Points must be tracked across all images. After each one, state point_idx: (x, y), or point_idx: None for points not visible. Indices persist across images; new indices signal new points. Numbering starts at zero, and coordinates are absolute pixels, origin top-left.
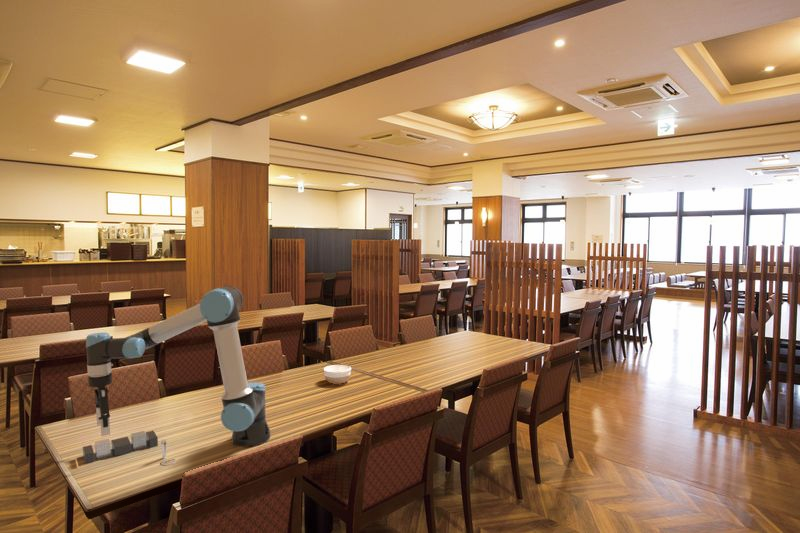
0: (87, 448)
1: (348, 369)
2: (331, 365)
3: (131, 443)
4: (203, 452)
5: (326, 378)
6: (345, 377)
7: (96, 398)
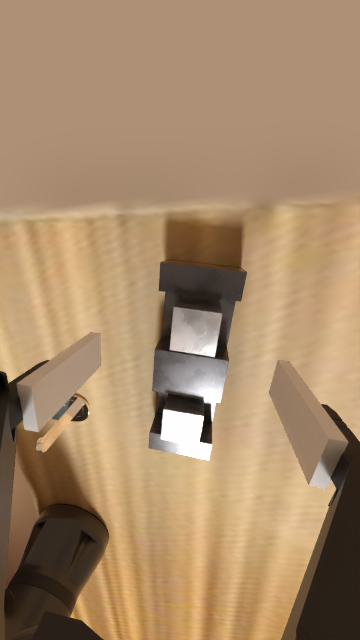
0: (214, 282)
1: None
2: None
3: None
4: (63, 462)
5: None
6: None
7: (353, 609)
